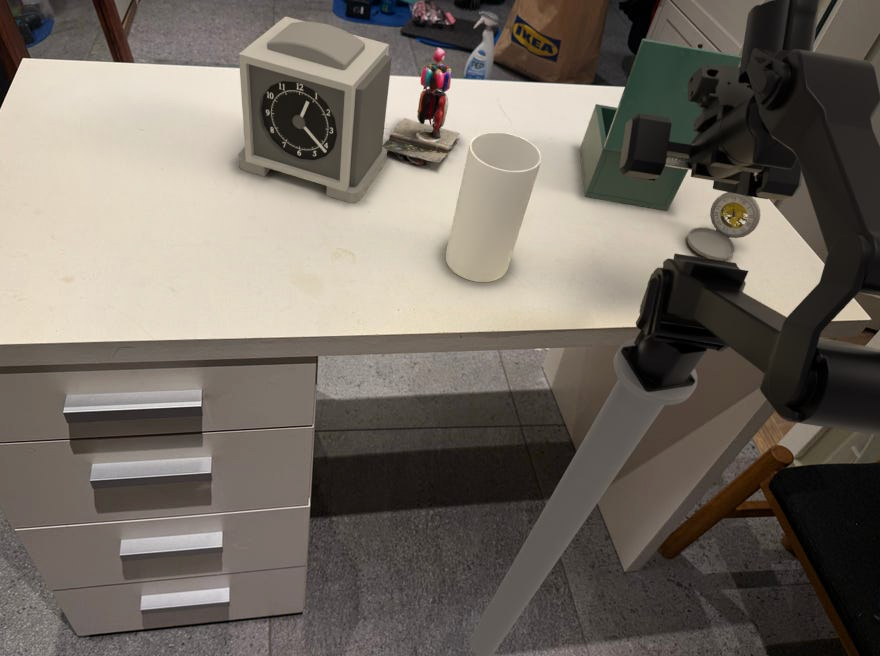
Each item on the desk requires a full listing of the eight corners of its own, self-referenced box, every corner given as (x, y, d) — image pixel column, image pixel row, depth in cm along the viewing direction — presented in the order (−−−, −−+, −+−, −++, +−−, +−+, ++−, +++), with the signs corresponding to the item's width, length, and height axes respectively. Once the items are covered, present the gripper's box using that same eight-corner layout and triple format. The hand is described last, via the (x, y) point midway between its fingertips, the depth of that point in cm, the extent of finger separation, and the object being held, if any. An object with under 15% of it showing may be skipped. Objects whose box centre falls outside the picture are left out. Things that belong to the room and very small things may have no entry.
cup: (434, 265, 84) (457, 154, 72) (460, 233, 89) (486, 123, 77) (493, 291, 82) (527, 181, 70) (516, 256, 87) (551, 147, 75)
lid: (642, 38, 83) (643, 40, 82) (740, 55, 83) (742, 57, 82) (603, 145, 93) (604, 148, 92) (691, 161, 93) (692, 163, 92)
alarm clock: (235, 167, 93) (224, 34, 79) (276, 125, 102) (273, -2, 88) (356, 204, 91) (367, 74, 77) (388, 158, 99) (403, 33, 86)
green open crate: (579, 148, 108) (595, 103, 102) (655, 162, 108) (676, 117, 102) (584, 196, 99) (602, 149, 93) (667, 210, 99) (690, 165, 93)
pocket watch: (686, 256, 92) (721, 195, 84) (683, 221, 97) (715, 161, 90) (745, 270, 91) (785, 210, 84) (738, 234, 97) (776, 175, 89)
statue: (402, 130, 107) (417, 31, 98) (457, 145, 106) (477, 47, 96) (378, 154, 99) (392, 50, 89) (437, 171, 98) (457, 67, 88)
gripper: (856, 66, 64) (763, 124, 79) (666, 35, 63) (610, 99, 79) (839, 180, 63) (749, 216, 79) (648, 150, 63) (596, 192, 79)
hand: (677, 178), depth 79 cm, fingers open, 9 cm apart
